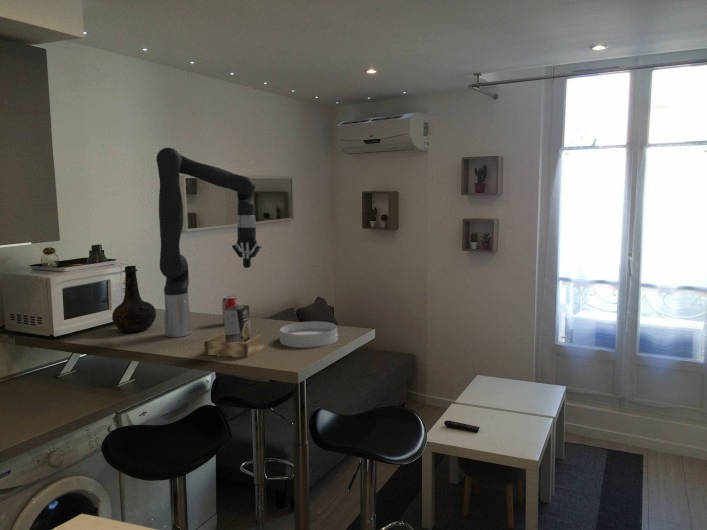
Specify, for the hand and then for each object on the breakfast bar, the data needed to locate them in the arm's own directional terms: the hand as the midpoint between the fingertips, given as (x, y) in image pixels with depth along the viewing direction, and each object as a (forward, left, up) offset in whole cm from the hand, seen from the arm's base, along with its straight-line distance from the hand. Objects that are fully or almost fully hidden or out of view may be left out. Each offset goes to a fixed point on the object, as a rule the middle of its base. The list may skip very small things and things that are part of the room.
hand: (247, 267), depth 233 cm
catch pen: (+11, -34, -26) cm, 44 cm away
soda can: (-13, +7, -26) cm, 30 cm away
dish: (+32, -15, -26) cm, 44 cm away
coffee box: (+13, -35, -26) cm, 45 cm away
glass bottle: (-50, -10, -26) cm, 57 cm away
